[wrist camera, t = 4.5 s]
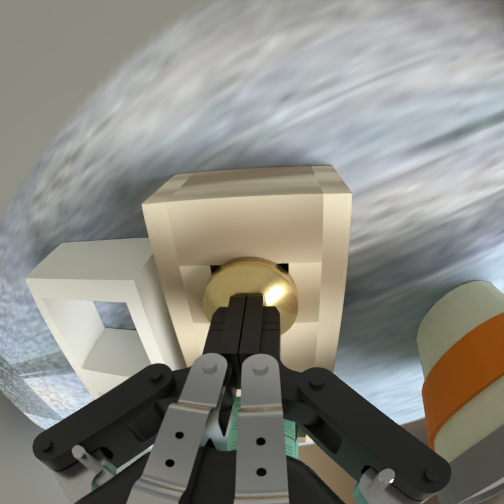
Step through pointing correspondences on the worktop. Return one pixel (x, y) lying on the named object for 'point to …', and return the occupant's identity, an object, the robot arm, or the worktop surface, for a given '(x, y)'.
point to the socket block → (255, 249)
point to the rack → (107, 290)
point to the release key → (253, 287)
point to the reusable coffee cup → (466, 389)
